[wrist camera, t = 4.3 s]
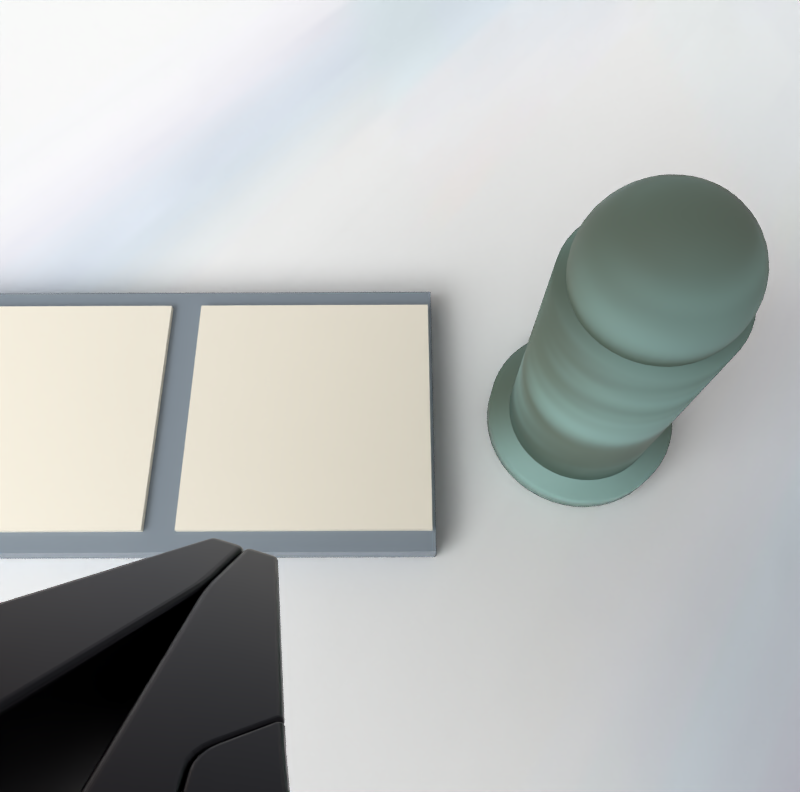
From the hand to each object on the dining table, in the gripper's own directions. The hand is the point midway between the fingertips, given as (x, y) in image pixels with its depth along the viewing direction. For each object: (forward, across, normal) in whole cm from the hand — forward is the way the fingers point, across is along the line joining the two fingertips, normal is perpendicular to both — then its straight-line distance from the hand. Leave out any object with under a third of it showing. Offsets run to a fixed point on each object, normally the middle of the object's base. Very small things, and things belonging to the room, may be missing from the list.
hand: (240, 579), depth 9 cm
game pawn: (+15, -6, +1) cm, 16 cm away
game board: (+13, +10, +5) cm, 17 cm away
